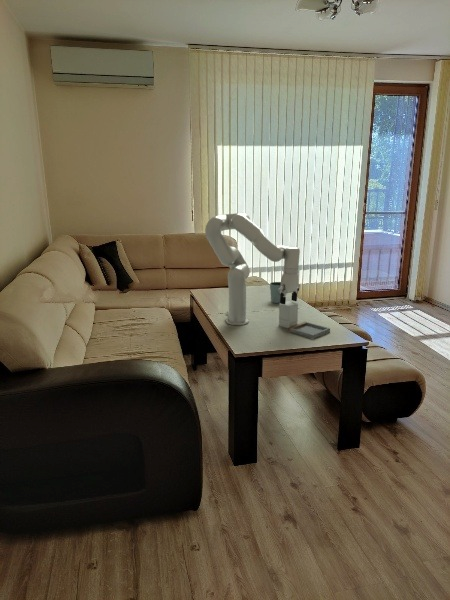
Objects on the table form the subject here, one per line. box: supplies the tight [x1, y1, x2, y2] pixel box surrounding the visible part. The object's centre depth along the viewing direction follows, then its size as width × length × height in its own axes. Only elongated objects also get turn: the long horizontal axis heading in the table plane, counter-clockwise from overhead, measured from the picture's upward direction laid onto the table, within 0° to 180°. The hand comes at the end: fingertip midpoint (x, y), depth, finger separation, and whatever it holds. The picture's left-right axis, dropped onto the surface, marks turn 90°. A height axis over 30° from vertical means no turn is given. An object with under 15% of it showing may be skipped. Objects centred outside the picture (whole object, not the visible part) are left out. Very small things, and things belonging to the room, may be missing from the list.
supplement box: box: [278, 300, 299, 329], centre depth 232 cm, size 7×7×13 cm
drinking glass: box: [269, 281, 284, 304], centre depth 281 cm, size 10×10×12 cm
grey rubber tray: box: [289, 321, 331, 340], centre depth 224 cm, size 14×15×2 cm
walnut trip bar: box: [286, 321, 308, 333], centre depth 229 cm, size 2×15×2 cm, turn 134°
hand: (288, 302), depth 230 cm, fingers open, 9 cm apart
